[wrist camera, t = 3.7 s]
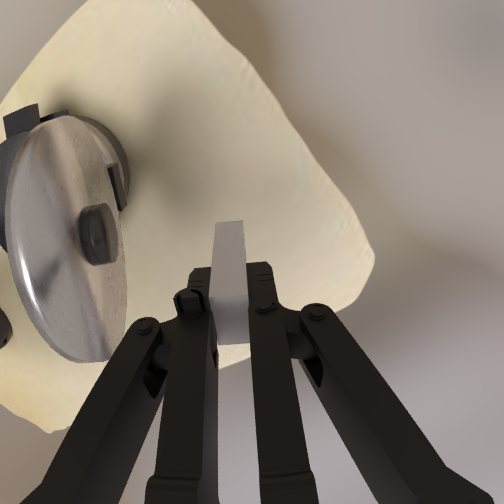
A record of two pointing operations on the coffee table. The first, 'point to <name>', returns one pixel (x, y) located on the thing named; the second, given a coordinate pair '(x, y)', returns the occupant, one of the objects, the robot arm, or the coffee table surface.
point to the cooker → (29, 118)
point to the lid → (67, 241)
